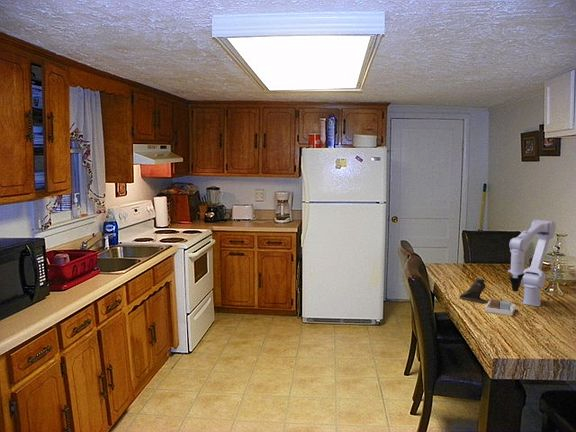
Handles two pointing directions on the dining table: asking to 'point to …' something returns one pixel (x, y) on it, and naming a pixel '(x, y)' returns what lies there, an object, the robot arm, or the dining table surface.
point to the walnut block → (495, 304)
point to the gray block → (505, 305)
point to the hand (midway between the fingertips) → (516, 289)
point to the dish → (500, 310)
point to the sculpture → (474, 292)
